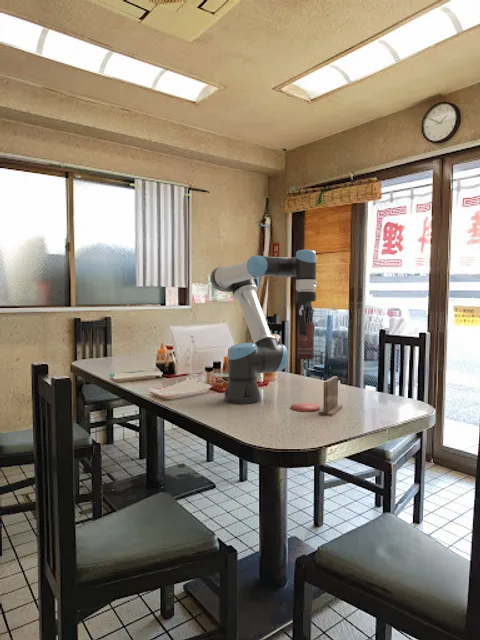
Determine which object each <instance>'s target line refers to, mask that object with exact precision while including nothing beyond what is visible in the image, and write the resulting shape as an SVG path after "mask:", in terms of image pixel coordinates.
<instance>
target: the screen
mask: <svg viewBox="0 0 480 640" xmlns="http://www.w3.org/2000/svg"><path fill="white" fill-rule="evenodd" d="M338 392H339V376H337V375H333V376H332V377H330V378H328V379H326V380H324V381H323V408H321V409H319V410H318V415H320V416H330V417H333V416H335V414H336V413H338V412H339V411H340V410H342V409H343V405H342V404H339V402H338V401H339V400H338V399H339V393H338Z"/></svg>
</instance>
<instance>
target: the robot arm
mask: <svg viewBox="0 0 480 640" xmlns="http://www.w3.org/2000/svg"><path fill="white" fill-rule="evenodd" d="M262 277H281V278H292V277H295V290H296V292H295V301H296V303H297V302H300V303H299V307H298V309H297V311H296V312H297V319H298V323H299V334H300V335H306V334H307V333H306V322H313V320H314V319H313V318H314V312H315V310H314V308H313V305H312V303H313V302H316V300H317V293H316V289H317V285H318V282H317V278H316V277H317V253H316V251H315V250H312V249H299V250H297V251H296V253H295V256H293V257H282V256H281V257H280V256H267V255H266V256H265V255H252V256H250V257H249V258H248V259H247V261H243V262H240V263H237V264H233V265H230V266H227V265H221V266H218V267H216V268H214V269H213V270H212V272H211V273H210V275H209V278H210V279H209V280H210V283H211V285H212V286H213V288H214V289H216V290H217V291H220V292H222V293H224V292H225V293H232V295H233V297H234V299H235V300H237V301H238V302H239V305H240V308H241V311H242V313H243V316H244V319H245V321H246V325H247V327H248V330H249V334H250V336H251V339H252V341H253V342H243V343H237V344H233V345H231V346H230V347H229V348H228V353H227V354H228V355H227V359H228V361H227V362H228V370H227V371H228V372H227V373H228V380H227V381H228V382H227V386H226V388H225V391H224V394H223V395H224V398H223V400H224V401H225V402H226V401H227V402H226V403H231V404H236V405H237V404H238V405H240V404H241V405H243V404H255V403H259V402H260V401H261V399H262V397H261V391H260V388H259V385H258V383H257V374H266V373H267V374H268V373H275V372H280V371H283V370H284V369H285V368H286V366H287V364H288V360H289V353H288V349H287V347H286V345H285V344H283V343H280V344H279V342H278V339H277V337H275V336H273V335H272V332H271V330H270V328H269V325H268V322H267V319H266V317H265V314H264V311H263V308H262V307H261V304H260V301H259V298H258V295H257V292H258V289H259V285H260V282H259V281H260V278H262Z"/></svg>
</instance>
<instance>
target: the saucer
mask: <svg viewBox="0 0 480 640" xmlns="http://www.w3.org/2000/svg"><path fill="white" fill-rule="evenodd" d="M320 408H321V407H320V405H318V404H315V403H307V402H306V403H305V402H304V403H303V402H302V403H300V402H299V403H293V404H291V405H290V409H292V410H293V411H296V412H297V411H298V412H302V413H303V412H304V413H305V412H309V413H311V412H317V411H320V410H321V409H320Z"/></svg>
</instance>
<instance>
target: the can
mask: <svg viewBox="0 0 480 640" xmlns="http://www.w3.org/2000/svg"><path fill="white" fill-rule="evenodd" d="M306 333H307V334H306V335H300V334H299V322H298V323H297V359H298V360H313V359H314V357H315V354H314V353H315V337H314V335H315V322H313V321H312V322H306Z"/></svg>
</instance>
